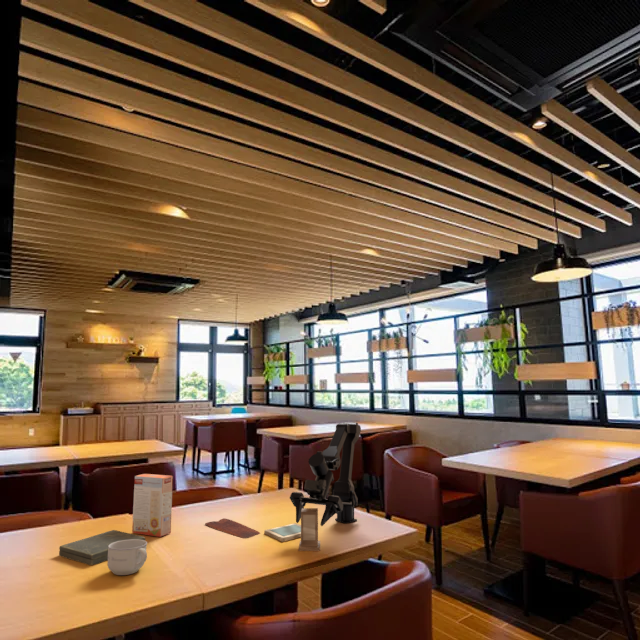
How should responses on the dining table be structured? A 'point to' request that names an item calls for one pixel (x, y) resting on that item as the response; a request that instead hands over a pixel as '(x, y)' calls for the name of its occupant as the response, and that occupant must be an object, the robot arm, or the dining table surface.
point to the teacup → (126, 556)
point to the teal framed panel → (285, 532)
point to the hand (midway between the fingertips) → (308, 523)
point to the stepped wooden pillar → (309, 530)
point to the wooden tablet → (233, 528)
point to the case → (94, 547)
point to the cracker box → (152, 505)
